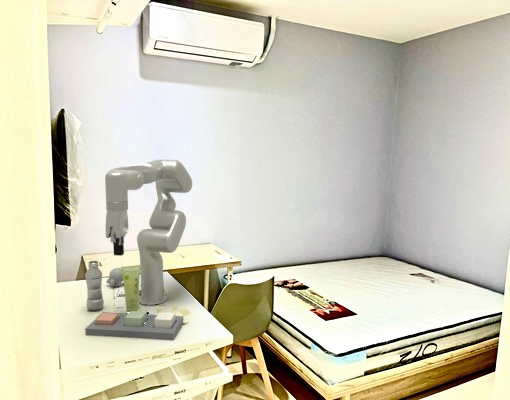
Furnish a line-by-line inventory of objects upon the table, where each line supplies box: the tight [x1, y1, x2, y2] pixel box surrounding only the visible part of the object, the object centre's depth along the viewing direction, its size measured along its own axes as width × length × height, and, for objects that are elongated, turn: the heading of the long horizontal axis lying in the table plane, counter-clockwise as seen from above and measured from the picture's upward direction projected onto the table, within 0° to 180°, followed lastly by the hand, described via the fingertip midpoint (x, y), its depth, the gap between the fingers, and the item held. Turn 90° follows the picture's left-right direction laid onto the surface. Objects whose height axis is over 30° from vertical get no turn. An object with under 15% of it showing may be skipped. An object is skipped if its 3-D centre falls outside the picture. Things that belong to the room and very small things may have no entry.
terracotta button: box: [95, 312, 119, 325], centre depth 153 cm, size 6×6×4 cm
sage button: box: [125, 310, 148, 327], centre depth 152 cm, size 6×6×4 cm
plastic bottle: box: [84, 260, 105, 311], centre depth 168 cm, size 6×7×20 cm
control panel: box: [84, 311, 184, 341], centre depth 152 cm, size 14×32×2 cm, turn 85°
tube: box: [120, 264, 141, 313], centre depth 165 cm, size 6×5×20 cm
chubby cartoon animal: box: [106, 267, 123, 288], centre depth 197 cm, size 7×12×8 cm, turn 126°
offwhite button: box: [154, 311, 176, 329], centre depth 151 cm, size 6×6×4 cm
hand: (118, 254), depth 152 cm, fingers closed
